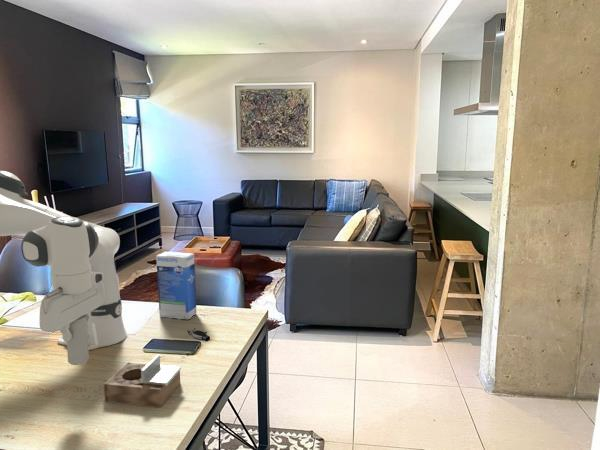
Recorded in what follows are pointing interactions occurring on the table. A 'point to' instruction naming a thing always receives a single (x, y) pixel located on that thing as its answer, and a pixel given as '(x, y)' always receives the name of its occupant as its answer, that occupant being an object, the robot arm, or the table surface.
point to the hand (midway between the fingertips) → (76, 334)
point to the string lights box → (176, 285)
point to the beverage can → (78, 342)
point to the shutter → (158, 372)
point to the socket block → (137, 387)
